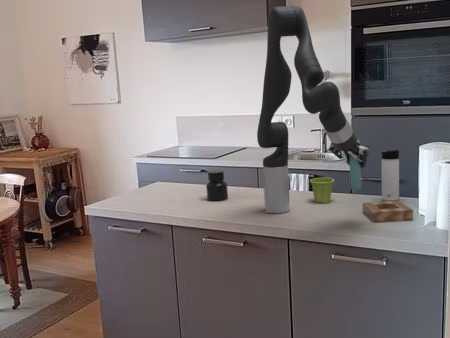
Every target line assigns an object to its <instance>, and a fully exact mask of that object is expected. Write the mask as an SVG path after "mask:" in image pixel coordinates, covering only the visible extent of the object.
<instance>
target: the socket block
mask: <svg viewBox="0 0 450 338" xmlns="http://www.w3.org/2000/svg"><path fill="white" fill-rule="evenodd" d="M362 213H363V214H364V215H365V216H366V217H367V218H368V219H369V220H370V221H372V222H373V223H388V222H389V223H390V222H405V221H407V222H408V221H414V209H412V208H411V207H410V206H408V205H406V204H405V203H404V202H402V201H400V200H399V201H386V202H383V201H371V202H370V201H369V202H362Z"/></svg>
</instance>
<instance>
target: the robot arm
mask: <svg viewBox="0 0 450 338" xmlns="http://www.w3.org/2000/svg"><path fill="white" fill-rule="evenodd" d="M267 20H268V21H267V39H266V40H267V43H266V44H267V46H266V47H267V48H266V49H267V50H266V51H267V52H266V62H265V69H264V75H263V76H264V78H263V87H262V101H261V102H262V103H261V109H260V115H259V122H258V126H257V132H256V133H257V135H256V137H257V144H258V146H259V147H260V148H262V149H272V148H276V149H275V150H274V151H273V153H271V154H270V155H267V156H266V157H263V159H262V168H263V173H262V174H263V198H264V199H263V200H264V211H265V213H267V214H283V213H288V212H289V211H290V209H291V208H290V206H291V205H290V203H291V202H290V184H289V183H290V182H289V129H288V128H289V127H288V125H287V124H286V122H285V121H284V122H283V121H275V122H272V120H273V118H274V115H275V114H276V112H277V111H278V109H279V108H280V107H281V106H282V105H283V104H284V102H285V101H286V99H287V98H288V96H289V94H290V92H291V84H292V78H293V77H292V71H291V69H290V68H291V67H290V66H289V64H288V62H287V61H286V59H285V56H284V55H283V53H282V49H281V40H282V37H296V38H297V40H298V44H297V48H296V51H295V52H294V53H295V54H294V59H293V62H294V63H293V64H294V68H295V70H296V73H297V76H298V78H299V81H300V84H301V98H302V104H303V105H302V106H303V107H304V109H305V110H306V112H308V113H309V114H312V115H315V114H318V119H319V121H320V124H321V125H322V127H323V128H324V130H325V134H326V136H327V138H328V139H329V141H330V146H329V148H328V150H329V152H331V153H332V154H333V155H335V157H336V158H337V159H339V160H342V159H343V161H345V162H346V164H347V165H348V166H349V167H350V161H349V155H352V157H353V158H354V159H357V160H358V163H359V164H360V166H361V168H362V169H364V168H365V167H366V164H367V159H368V158H369V153H370V146H369V145H368V144H367V145H365V146H363V145H361V143H360V142H359V143H358V142H357V140H358V139H357V138H358V137H357V135H356V133H355V131H354V129H353V127H352V126H351V123H350V122H349V121H348V119H347V118H346V116H345V114H344V112H343V109H342V106H341V97H340V96H341V95H340V91H339V88H338V87H337V84H335V83H334V82H332V81H329V80H328V81H324V78H325V75H324V74H325V73H324V71H323V68H322V66H321V64H320V62H319V59H318V57H317V54H316V52H315V49H314V46H313V41H312V36H311V32H310V28H309V23H308V21H307V17H306V14H305V12H304V9H303V8H302V7H301V6H298V5H286V6H285V5H283V6H274V7H272V8H271V9H270V11H269V14H268V19H267ZM323 81H324V82H323ZM322 82H323V83H322Z"/></svg>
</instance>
